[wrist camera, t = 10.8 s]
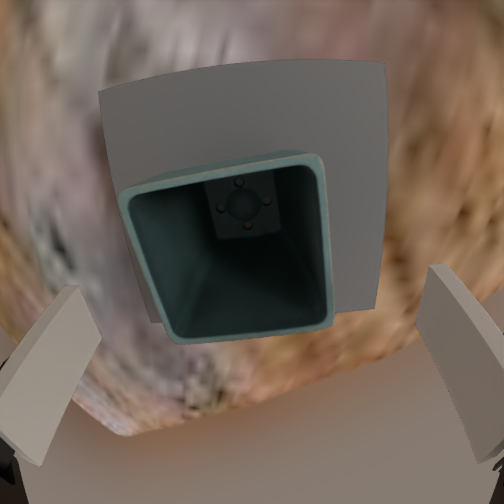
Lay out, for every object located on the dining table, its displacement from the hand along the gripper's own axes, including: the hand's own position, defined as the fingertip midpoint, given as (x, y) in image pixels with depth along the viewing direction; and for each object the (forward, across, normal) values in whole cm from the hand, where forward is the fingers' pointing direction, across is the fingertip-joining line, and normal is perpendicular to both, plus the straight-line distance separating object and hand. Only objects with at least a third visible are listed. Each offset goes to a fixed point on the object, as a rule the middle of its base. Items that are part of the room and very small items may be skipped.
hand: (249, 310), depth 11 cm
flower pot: (+12, -1, 0) cm, 12 cm away
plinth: (+16, 0, 0) cm, 16 cm away
